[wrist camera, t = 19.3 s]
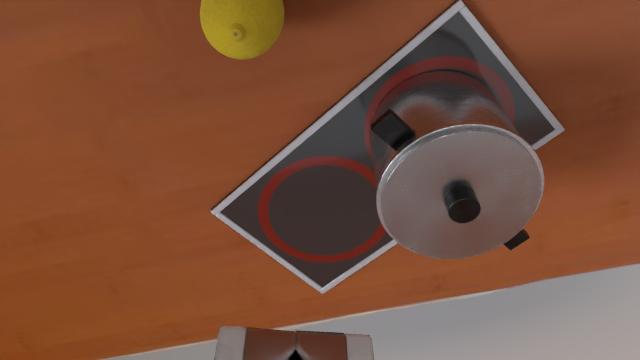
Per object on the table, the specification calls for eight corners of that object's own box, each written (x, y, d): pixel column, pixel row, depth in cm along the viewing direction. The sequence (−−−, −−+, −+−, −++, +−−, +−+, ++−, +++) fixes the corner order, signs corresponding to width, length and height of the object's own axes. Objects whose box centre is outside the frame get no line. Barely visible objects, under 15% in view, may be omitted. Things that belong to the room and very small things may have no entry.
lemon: (289, -40, 38) (284, -7, 32) (284, 36, 41) (278, 81, 35) (209, -49, 38) (187, -17, 31) (210, 29, 41) (190, 73, 34)
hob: (322, 290, 57) (322, 294, 56) (211, 208, 51) (210, 212, 50) (563, 127, 46) (565, 130, 46) (459, -3, 40) (461, -1, 39)
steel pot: (441, 220, 51) (468, 309, 42) (318, 118, 45) (320, 197, 36) (547, 142, 46) (603, 224, 38) (426, 17, 40) (459, 78, 31)
